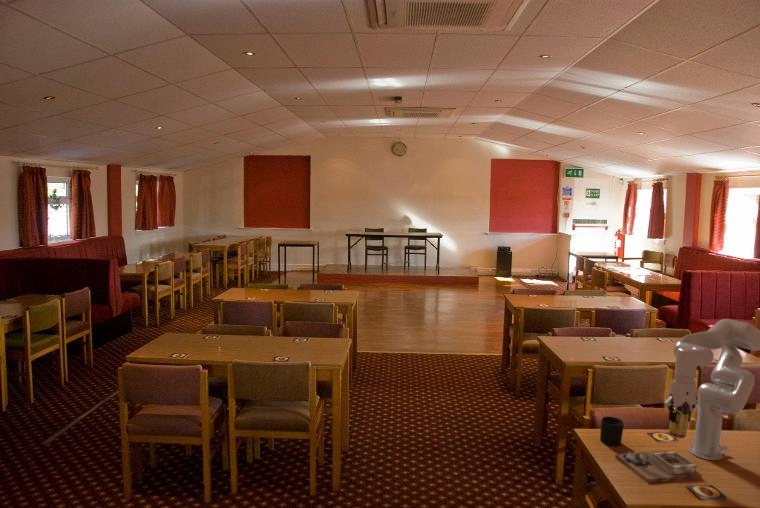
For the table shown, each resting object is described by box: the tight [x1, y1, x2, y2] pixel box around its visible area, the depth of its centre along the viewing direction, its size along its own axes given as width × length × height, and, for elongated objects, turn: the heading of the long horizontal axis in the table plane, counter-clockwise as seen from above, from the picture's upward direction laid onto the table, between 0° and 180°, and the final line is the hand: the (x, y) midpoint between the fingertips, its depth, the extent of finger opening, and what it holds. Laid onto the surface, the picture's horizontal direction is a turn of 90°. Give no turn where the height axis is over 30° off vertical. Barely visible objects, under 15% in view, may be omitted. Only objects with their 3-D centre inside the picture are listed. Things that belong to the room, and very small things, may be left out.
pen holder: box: [599, 416, 625, 447], centre depth 251 cm, size 9×9×10 cm
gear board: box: [614, 450, 703, 484], centre depth 229 cm, size 25×20×5 cm
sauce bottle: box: [668, 388, 690, 439], centre depth 226 cm, size 7×6×20 cm
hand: (679, 420), depth 226 cm, fingers closed on sauce bottle, 6 cm apart
